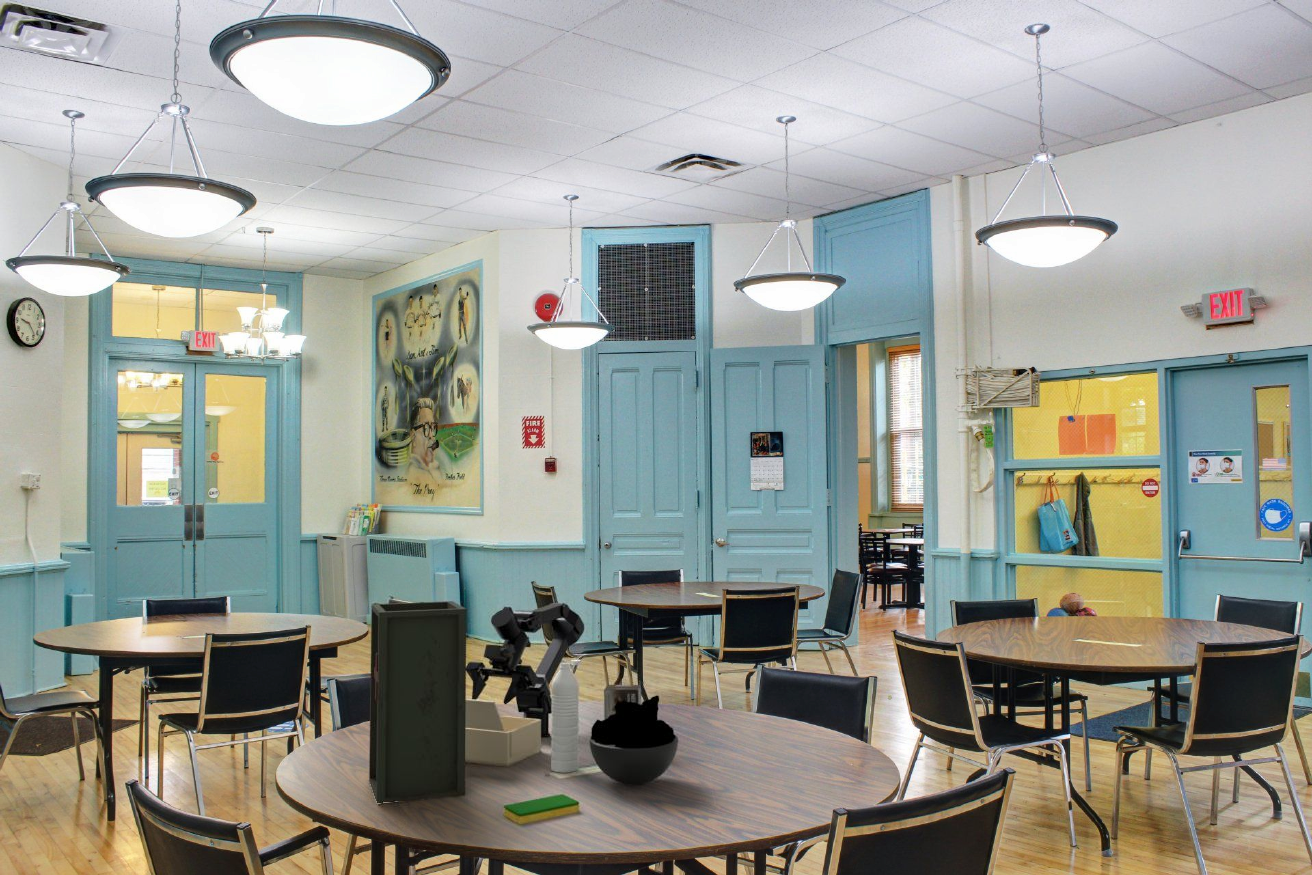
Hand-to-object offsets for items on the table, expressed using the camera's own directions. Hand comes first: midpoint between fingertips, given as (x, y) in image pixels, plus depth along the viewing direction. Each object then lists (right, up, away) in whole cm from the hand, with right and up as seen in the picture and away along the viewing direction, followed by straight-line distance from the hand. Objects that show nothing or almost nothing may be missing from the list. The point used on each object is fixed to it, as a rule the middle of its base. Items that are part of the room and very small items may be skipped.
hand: (488, 701), depth 254 cm
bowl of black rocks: (+37, -12, -26) cm, 47 cm away
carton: (0, -13, 0) cm, 13 cm away
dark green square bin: (-11, -12, -29) cm, 33 cm away
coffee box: (+34, -14, +4) cm, 36 cm away
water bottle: (+21, -13, -13) cm, 28 cm away
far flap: (-4, 0, -9) cm, 10 cm away
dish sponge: (+19, -11, -47) cm, 52 cm away
